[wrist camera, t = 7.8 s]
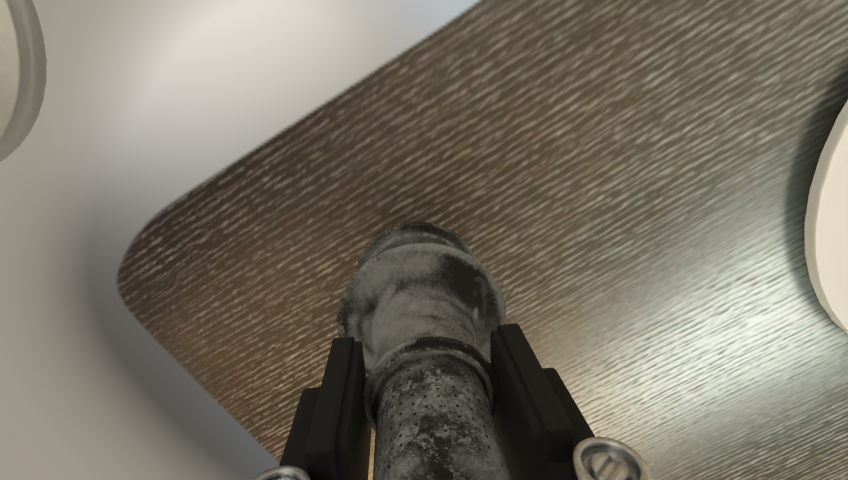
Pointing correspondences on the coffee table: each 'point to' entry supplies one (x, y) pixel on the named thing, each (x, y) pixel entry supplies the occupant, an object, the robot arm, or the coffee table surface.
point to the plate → (830, 224)
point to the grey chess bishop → (427, 354)
